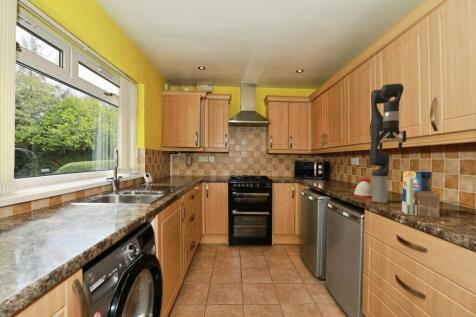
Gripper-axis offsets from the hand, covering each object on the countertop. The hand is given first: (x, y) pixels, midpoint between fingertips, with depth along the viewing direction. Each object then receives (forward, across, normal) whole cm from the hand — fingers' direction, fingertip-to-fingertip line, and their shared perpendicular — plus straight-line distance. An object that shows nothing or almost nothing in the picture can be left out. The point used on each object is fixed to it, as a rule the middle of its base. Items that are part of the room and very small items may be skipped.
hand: (390, 149), depth 131 cm
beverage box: (+34, -14, -3) cm, 37 cm away
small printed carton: (+33, -8, +8) cm, 35 cm away
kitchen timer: (+35, +8, -49) cm, 61 cm away
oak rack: (+33, -15, +8) cm, 37 cm away
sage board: (+32, -8, +10) cm, 35 cm away
